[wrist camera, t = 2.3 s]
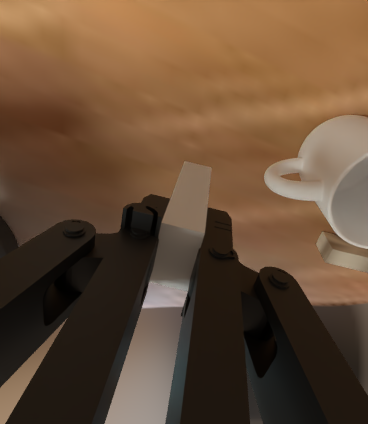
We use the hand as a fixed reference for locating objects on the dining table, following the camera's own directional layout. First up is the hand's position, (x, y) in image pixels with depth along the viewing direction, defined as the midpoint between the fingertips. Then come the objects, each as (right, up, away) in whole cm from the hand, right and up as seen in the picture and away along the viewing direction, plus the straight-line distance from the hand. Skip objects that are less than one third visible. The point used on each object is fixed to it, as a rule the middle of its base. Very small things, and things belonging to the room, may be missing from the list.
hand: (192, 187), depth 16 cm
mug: (+13, +4, +13) cm, 19 cm away
